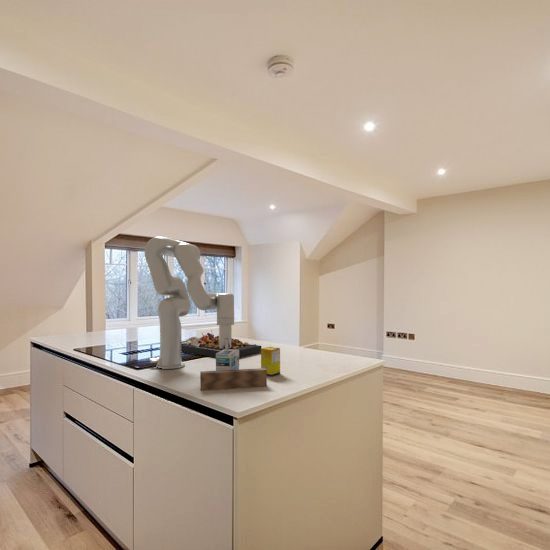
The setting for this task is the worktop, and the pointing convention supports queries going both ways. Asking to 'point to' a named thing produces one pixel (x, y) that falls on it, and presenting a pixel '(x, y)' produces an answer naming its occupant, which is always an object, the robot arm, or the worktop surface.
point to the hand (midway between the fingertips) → (225, 363)
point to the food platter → (216, 346)
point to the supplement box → (271, 360)
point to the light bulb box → (227, 360)
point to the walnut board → (233, 378)
